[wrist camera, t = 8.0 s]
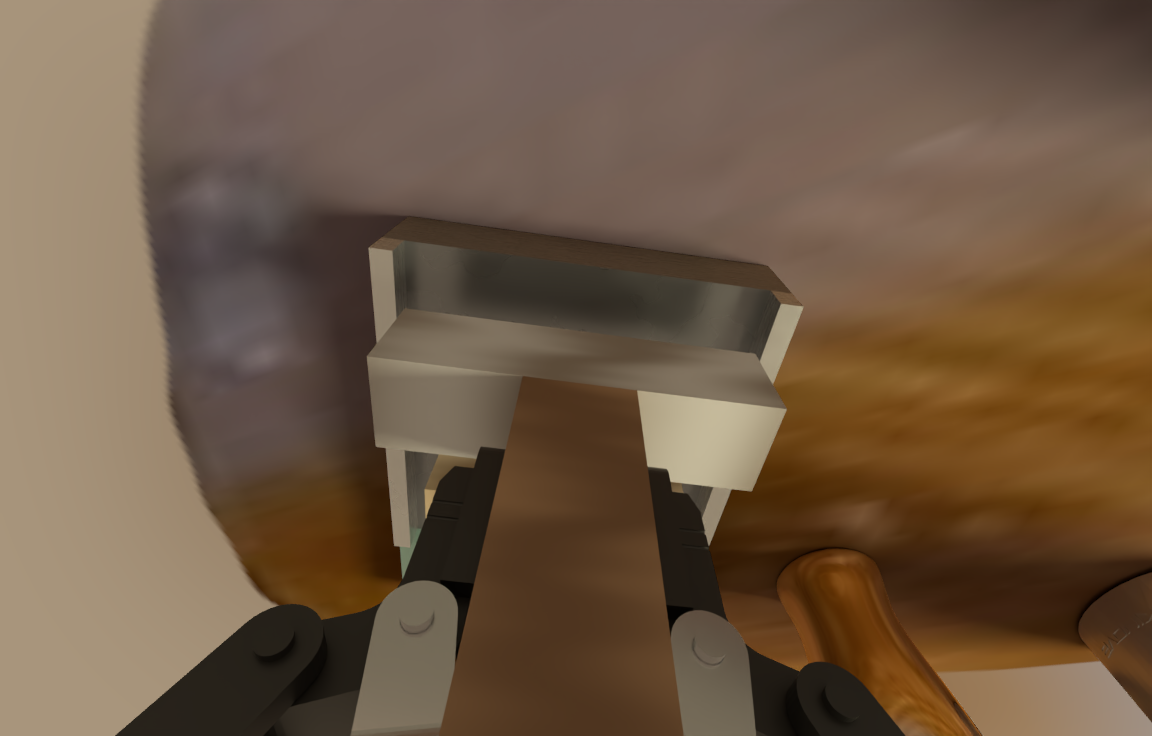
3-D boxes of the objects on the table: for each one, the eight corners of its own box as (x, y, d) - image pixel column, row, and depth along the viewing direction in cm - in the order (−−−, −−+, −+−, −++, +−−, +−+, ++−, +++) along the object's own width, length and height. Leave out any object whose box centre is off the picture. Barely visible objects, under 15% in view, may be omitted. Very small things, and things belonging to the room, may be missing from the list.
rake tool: (755, 353, 16) (1058, 888, 5) (728, 428, 17) (925, 956, 7) (404, 308, 15) (18, 795, 5) (409, 389, 17) (118, 890, 7)
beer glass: (770, 619, 33) (880, 967, 20) (765, 550, 30) (893, 915, 17) (882, 607, 32) (1072, 966, 19) (890, 534, 29) (1127, 911, 16)
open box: (768, 265, 21) (803, 306, 17) (683, 516, 29) (695, 580, 25) (408, 216, 20) (368, 247, 17) (420, 484, 28) (394, 545, 24)
